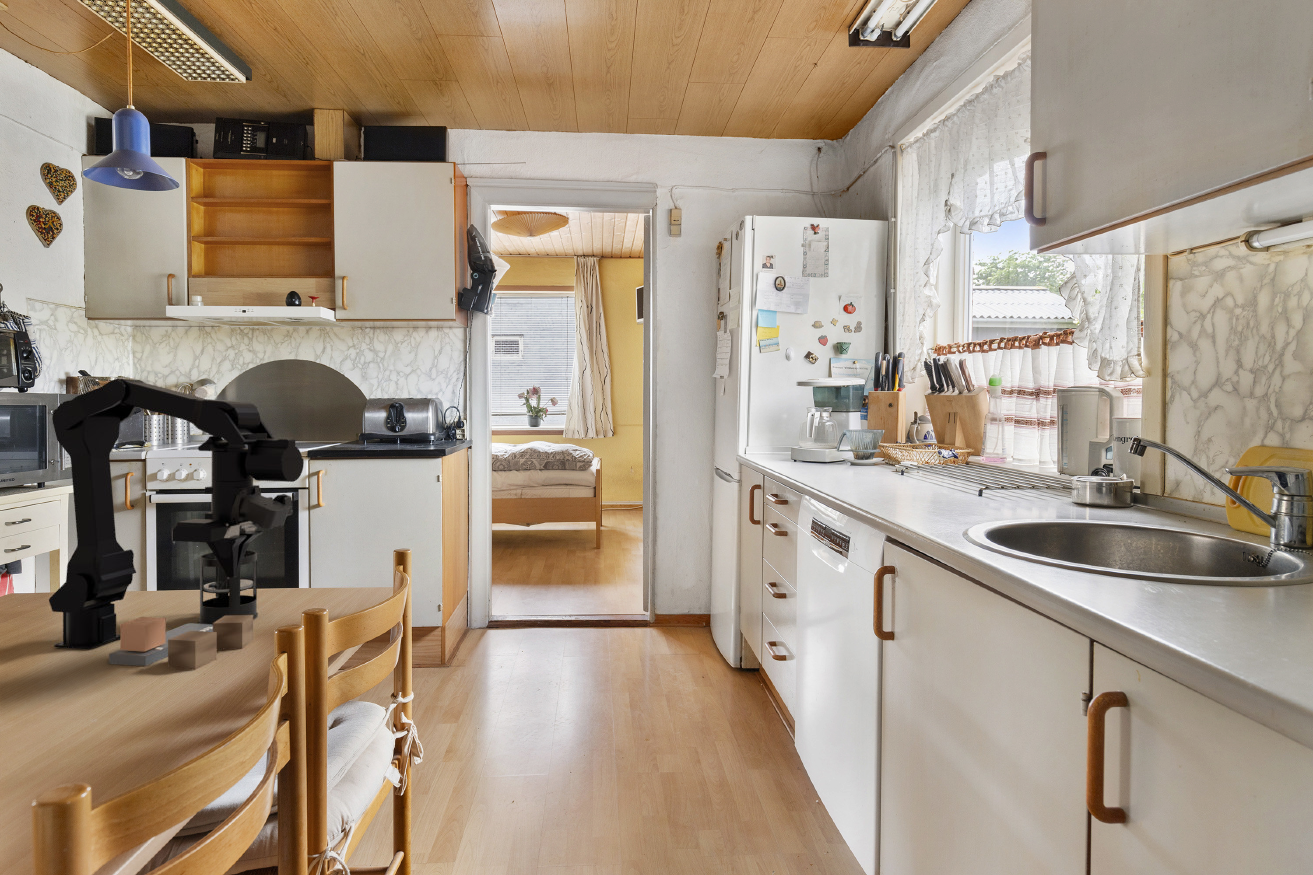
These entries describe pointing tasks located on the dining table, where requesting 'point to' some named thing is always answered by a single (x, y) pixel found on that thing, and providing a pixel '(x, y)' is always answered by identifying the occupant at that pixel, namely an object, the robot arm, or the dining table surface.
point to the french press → (227, 591)
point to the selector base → (157, 652)
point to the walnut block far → (234, 631)
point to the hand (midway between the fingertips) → (232, 577)
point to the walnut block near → (192, 650)
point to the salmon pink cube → (143, 633)
